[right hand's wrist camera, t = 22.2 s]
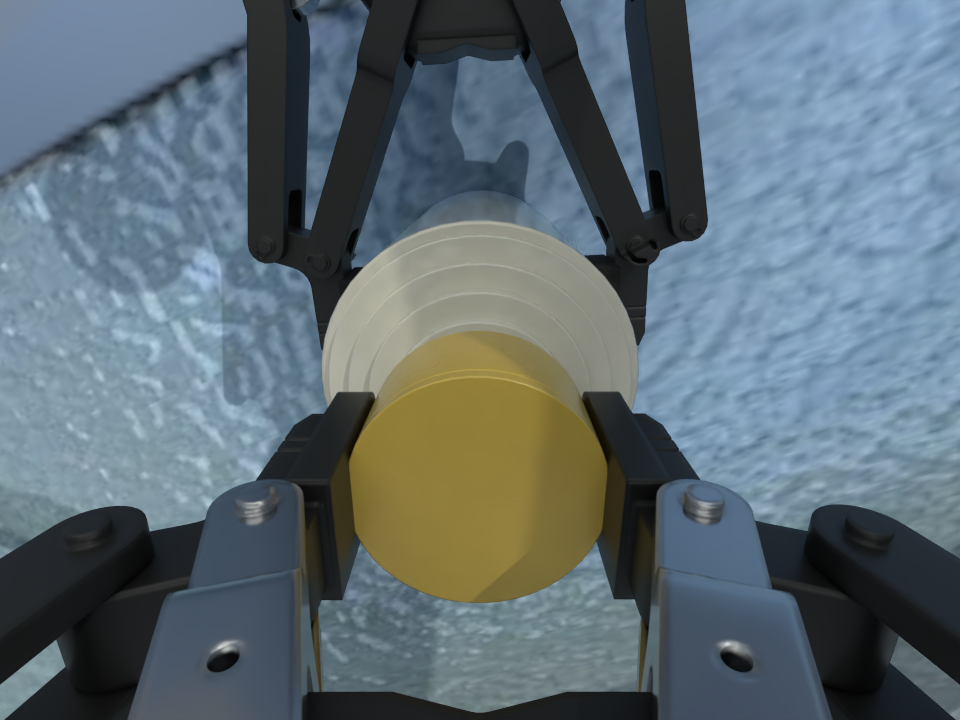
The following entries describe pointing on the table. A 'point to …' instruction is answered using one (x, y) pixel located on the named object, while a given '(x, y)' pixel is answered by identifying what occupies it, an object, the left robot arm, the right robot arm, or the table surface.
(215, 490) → the table surface
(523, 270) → the bottle
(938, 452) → the table surface
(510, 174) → the table surface
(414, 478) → the cap
